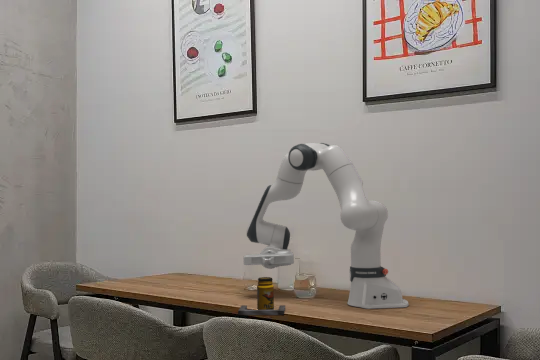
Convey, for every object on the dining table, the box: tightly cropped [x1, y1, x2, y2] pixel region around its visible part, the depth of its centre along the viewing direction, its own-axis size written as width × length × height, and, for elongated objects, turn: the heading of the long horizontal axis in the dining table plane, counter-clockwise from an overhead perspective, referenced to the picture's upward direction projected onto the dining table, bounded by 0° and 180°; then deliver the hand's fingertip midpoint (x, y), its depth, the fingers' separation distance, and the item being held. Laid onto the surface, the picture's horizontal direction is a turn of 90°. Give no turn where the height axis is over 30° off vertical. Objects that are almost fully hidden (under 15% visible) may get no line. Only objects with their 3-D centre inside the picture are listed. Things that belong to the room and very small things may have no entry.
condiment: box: [256, 276, 275, 310], centre depth 225 cm, size 7×8×12 cm
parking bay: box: [237, 304, 286, 316], centre depth 222 cm, size 16×10×2 cm, turn 85°
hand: (267, 261), depth 243 cm, fingers closed
